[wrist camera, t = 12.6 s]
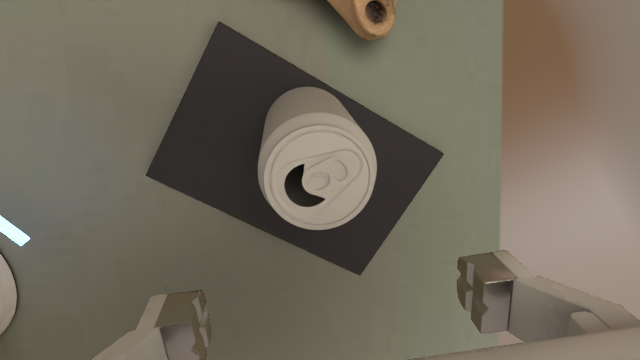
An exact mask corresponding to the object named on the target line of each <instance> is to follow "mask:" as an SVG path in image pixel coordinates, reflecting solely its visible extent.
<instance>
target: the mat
mask: <svg viewBox="0 0 640 360" xmlns="http://www.w3.org/2000/svg"><path fill="white" fill-rule="evenodd" d="M299 87H316V88H320V89H323V90H325V91H327V92H329V93H330V94H332V95H333V96H335V97H336V98H337V99H338V100H339V101H340V103H341V104H342V105H343V106H344V108H345V109H346V110H347V111H348V113H349V114H350V115H351V117H352V118H353V119H354V120H355V122H356V123H357V124H358V125H359V127H360V128H361V129H362V131H363V132H364V133H365V134H366V136H367V137H368V139H369V140H370V142H371V144H372V146H373V149H374V152H375V156H376V161H377V173H376V179H375V183H374V187H373V191H372V194H371V196H370V198H369V200H368V202H367V204H366V205H365V207H364V208H363V209H362V210H361V211H360V212H359V213H358V214H357V215H356V216H355V217H354V218H353V219H351V220H350V221H348V222H346V223H345V224H342V225H340V226H338V227H334V228H331V229H325V230H311V229H305V228H301V227H298V226H295V225H293V224H291V223H289V222H288V221H286V220H285V219H283V218H282V217H281V216H280V215H279V214H278V213H277V212H276V211H275V210H274V209H273V208H272V207H271V205H270V204H269V203H268V202H267V200H266V199H265V197H264V195H263V193H262V191H261V188H260V185H259V181H258V160H259V154H260V148H261V143H262V137H263V131H264V126H265V120H266V116H267V113H268V111H269V109H270V107H271V106H272V104H273V103H274V102H275V101H276V100H277V99H278V98H279V97H280V96H281V95H283V94H284V93H286V92H287V91H290V90H292V89H295V88H299ZM443 155H444V154H443V153H442V152H440V151H439V150H437V149H435V148H434V147H432V146H430V145H429V144H427V143H425V142H423V141H422V140H420V139H418V138H417V137H415V136H413V135H412V134H410V133H408V132H406V131H405V130H403V129H401V128H400V127H398V126H396V125H395V124H393V123H391V122H389V121H388V120H386V119H384V118H383V117H381V116H379V115H378V114H376V113H374V112H372V111H371V110H369V109H367V108H366V107H364V106H362V105H361V104H359V103H357V102H355V101H354V100H352V99H350V98H349V97H347V96H345V95H344V94H342V93H340V92H338V91H337V90H335V89H333V88H332V87H330V86H328V85H327V84H325V83H323V82H321V81H320V80H318V79H316V78H315V77H313V76H311V75H310V74H308V73H306V72H304V71H303V70H301V69H299V68H298V67H296V66H294V65H293V64H291V63H289V62H287V61H286V60H284V59H282V58H281V57H279V56H277V55H276V54H274V53H272V52H270V51H269V50H267V49H265V48H264V47H262V46H260V45H259V44H257V43H255V42H253V41H252V40H250V39H248V38H247V37H245V36H243V35H241V34H240V33H238V32H236V31H235V30H233V29H231V28H230V27H228V26H226V25H224V24H223V23H221V22H218V24H217V26H216V28H215V30H214V33H213V35H212V37H211V39H210V41H209V43H208V45H207V47H206V49H205V52H204V54H203V56H202V58H201V60H200V62H199V64H198V66H197V68H196V71H195V73H194V75H193V77H192V79H191V81H190V83H189V85H188V87H187V90H186V92H185V94H184V96H183V98H182V100H181V102H180V104H179V106H178V108H177V111H176V113H175V115H174V117H173V119H172V121H171V123H170V125H169V127H168V130H167V132H166V134H165V136H164V138H163V140H162V142H161V144H160V146H159V149H158V151H157V153H156V155H155V157H154V159H153V161H152V163H151V165H150V168H149V170H148V172H147V174H146V176H148V177H150V178H153V179H155V180H157V181H159V182H161V183H163V184H165V185H167V186H170V187H172V188H174V189H176V190H178V191H180V192H182V193H185V194H187V195H189V196H191V197H193V198H195V199H197V200H200V201H202V202H204V203H206V204H208V205H210V206H212V207H215V208H217V209H219V210H221V211H223V212H225V213H227V214H229V215H232V216H234V217H236V218H238V219H240V220H242V221H244V222H247V223H249V224H251V225H253V226H255V227H257V228H259V229H262V230H264V231H266V232H268V233H270V234H272V235H274V236H277V237H279V238H281V239H283V240H285V241H287V242H289V243H292V244H294V245H296V246H298V247H300V248H302V249H304V250H306V251H309V252H311V253H313V254H315V255H317V256H319V257H321V258H324V259H326V260H328V261H330V262H332V263H334V264H336V265H339V266H341V267H343V268H345V269H347V270H349V271H351V272H354V273H356V274H358V275H361V273H362V272H363V271H364V269H365V268H366V266H367V265H368V263H369V262H370V260H371V259H372V258H373V256H374V255H375V253H376V252H377V250H378V249H379V247H380V246H381V245H382V243H383V242H384V240H385V239H386V237H387V236H388V234H389V233H390V231H391V230H392V229H393V227H394V226H395V224H396V223H397V221H398V220H399V218H400V217H401V216H402V214H403V213H404V211H405V210H406V208H407V207H408V205H409V204H410V203H411V201H412V200H413V198H414V197H415V195H416V194H417V192H418V191H419V189H420V188H421V187H422V185H423V184H424V182H425V181H426V179H427V178H428V176H429V175H430V174H431V172H432V171H433V169H434V168H435V166H436V165H437V163H438V162H439V161H440V159H441V158H442V156H443Z"/></svg>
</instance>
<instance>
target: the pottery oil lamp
mask: <svg viewBox="0 0 640 360" xmlns="http://www.w3.org/2000/svg"><path fill="white" fill-rule="evenodd" d="M327 1H328V2H329V3H330V4H331V5H332V6H333V7H334V8H335V10H336V11H337V12H338V13H339V14H340V15H341V16H342V17H343V18H344V19H345V21H346V22H347V23H348V24H349V26H350V27H351V28H352V29H353V30H354V32H355V33H356V34H358V35H359V36H360V37H361V38H363V39H367V40H379V39H382V38H384V37H385V36H386V35H387V34H388V33H389V32H390V30H391V28H392V26H393V24H394V21H395V13H396V0H327Z"/></svg>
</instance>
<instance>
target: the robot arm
mask: <svg viewBox="0 0 640 360" xmlns="http://www.w3.org/2000/svg"><path fill="white" fill-rule="evenodd" d="M0 231H1V232H2V233H4V234H5V235H6V236H8V237H9V238H10V239H12V240H13V241H15V242H16V243H17V244H19V245H20V246H22V245H23V244H24V243H26V242H27V241H28V240H29V239H30V238H29V237H28V236H27V235H25V234H24V233H23V232H21V231H20V230H19V229H17V228H16V227H15V226H13V225H12V224H11V223H9V222H8V221H7V220H5V219H4V218H3V217H1V216H0ZM457 269H458V270H459V271H460V273H461V276H460V277H459V278H458V280H457V293H458V298H459V300H460V303H461V305H462V306H463V308H464V309H465V310H466V311H468V312H470V313H471V320H472V321H473V323H474V324H475V326H476V327H477V329H478V330H479V332H480V333H481V334H483V333H492V332H501V331H508V332H509V333H511V334H513V335H514V336H516V337H517V338H519V339H520V340H522V341H524V343H517V344H511V345H504V346H497V347H490V348H483V349H476V350H469V351H462V352H455V353H449V354H442V355H435V356H428V357H421V358H414V359H407V360H640V320H638V319H637V318H635V316H633V315H632V314H631V313H630V312H628V311H627V310H626V309H625V308H623V307H622V306H621V305H619V304H616V303H613V302H610V301H608V300H605V299H602V298H599V297H596V296H594V295H590V294H588V293H585V292H583V291H580V290H577V289H574V288H571V287H569V286H566V285H563V284H560V283H557V282H554V281H551V280H549V279H546V278H543V277H541V276H536V277H535V276H534V275H532V274H531V273H530V272H529V271H528V270H527V269H526V268H525V267H524V266H523V265H522V264H521V263H520V262H519V261H518V260H517V259H516V258H514V256H512V255H511V254H510V253H509V252H508V251H506V250H501V251H495V252H489V253H483V254H477V255H470V256H463V257H459V259H458V266H457ZM16 303H17V292H16V285H15V281H14V278H13V275H12V273H11V270H10V268H9V266H8V265H7V263H6V261H5V260H4V258H3V257H2V255H1V254H0V335H1V334H2V333H3V332H4V330H5V329H6V328H7V327H8V325H9V324H10V322H11V320H12V318H13V316H14V313H15V309H16ZM205 303H206V300H205V296H204V292H203V291H202V290H197V291H187V292H178V293H170V294H161V295H154V296H152V297H150V299H149V301H148V303H147V305H146V308H145V310H144V312H143V314H142V316H141V318H140V320H139V323H138V325H137V327H136V329H135V330H133V331H129V332H128V333H126V334H125V335H124V336H122V337H121V338H120V339H118V340H117V341H116V342H114V343H113V344H112V345H110V346H109V347H107V348H106V349H105V350H103V351H102V352H101V353H99V354H98V355H97V356H95V357H94V358H93V359H91V360H206V358H207V354H206V350H205V348H206V347H207V346H208V345H209V343H210V338H211V325H210V318H209V313H207V312H206V311H205V310H204V308H205Z"/></svg>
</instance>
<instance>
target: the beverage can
mask: <svg viewBox="0 0 640 360" xmlns="http://www.w3.org/2000/svg"><path fill="white" fill-rule="evenodd" d="M376 173H377V161H376V156H375V152H374V149H373V146H372V144H371V142H370V140H369V139H368V137H367V136H366V134H365V133H364V132H363V131H362V129H361V128H360V127H359V125H358V124H357V123H356V122H355V120H354V119H353V118H352V117H351V115H350V114H349V113H348V111H347V110H346V109H345V108H344V106H343V105H342V104H341V103H340V101H339V100H338V99H337V98H336V97H335V96H333V95H332V94H330V93H329V92H327V91H325V90H323V89H320V88H316V87H299V88H295V89H292V90H290V91H287V92H286V93H284V94H283V95H281V96H280V97H279V98H278V99H277V100H276V101H275V102H274V103H273V104H272V106H271V107H270V109H269V111H268V113H267V116H266V120H265V126H264V131H263V137H262V143H261V148H260V154H259V160H258V181H259V185H260V188H261V191H262V193H263V195H264V197H265V199H266V200H267V202H268V203H269V204H270V205H271V207H272V208H273V209H274V210H275V211H276V212H277V213H278V214H279V215H280V216H281V217H282V218H283V219H285V220H286V221H288V222H289V223H291V224H293V225H295V226H298V227H301V228H305V229H311V230H325V229H331V228H334V227H338V226H340V225H342V224H345V223H346V222H348V221H350V220H351V219H353V218H354V217H355V216H356V215H357V214H358V213H359V212H360V211H361V210H362V209H363V208H364V207H365V205H366V204H367V202H368V200H369V198H370V196H371V194H372V191H373V187H374V183H375V179H376Z"/></svg>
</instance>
